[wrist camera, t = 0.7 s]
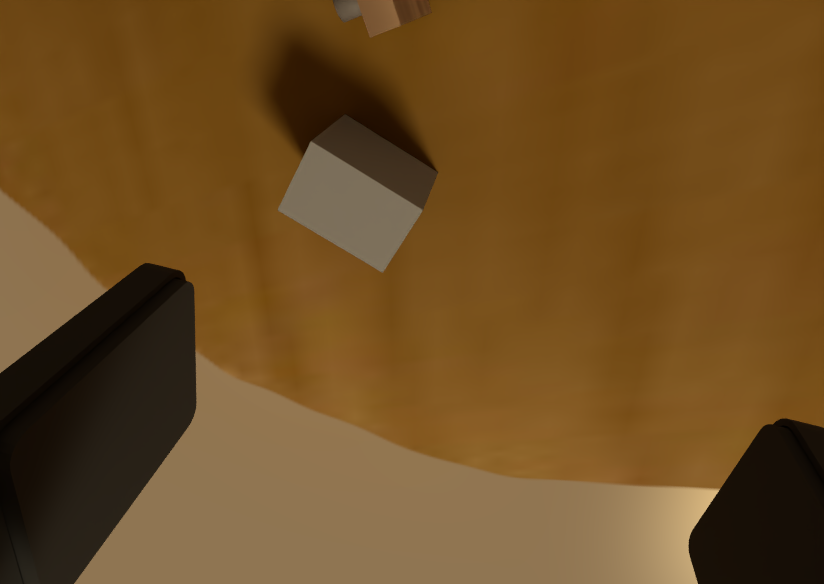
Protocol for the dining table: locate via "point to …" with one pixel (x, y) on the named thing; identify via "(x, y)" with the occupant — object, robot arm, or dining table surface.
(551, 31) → the dining table surface
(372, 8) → the door
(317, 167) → the block
